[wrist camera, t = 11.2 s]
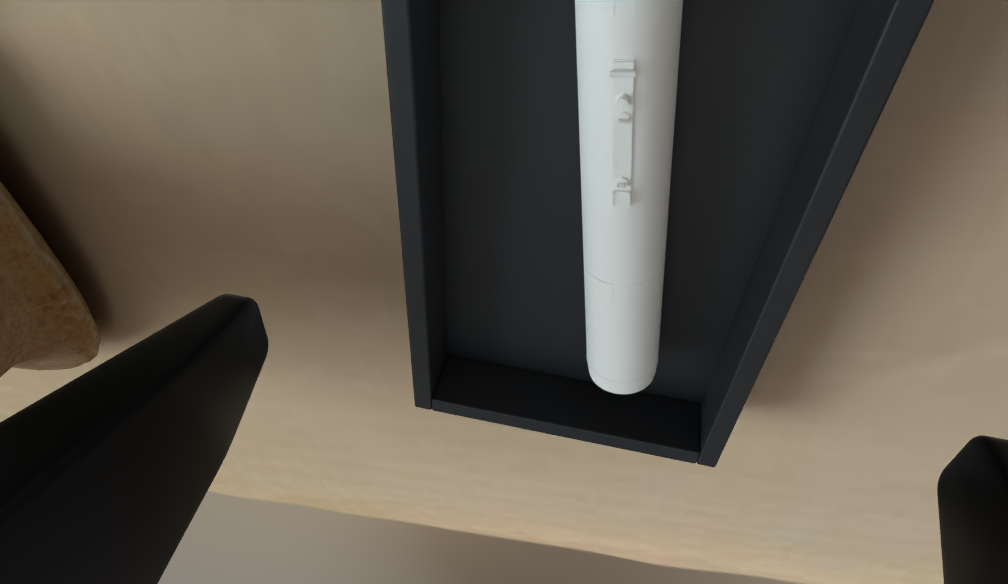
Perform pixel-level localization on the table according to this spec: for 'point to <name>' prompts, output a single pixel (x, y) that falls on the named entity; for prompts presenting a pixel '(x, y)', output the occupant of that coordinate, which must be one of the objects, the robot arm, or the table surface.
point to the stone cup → (38, 301)
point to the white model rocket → (625, 179)
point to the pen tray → (558, 203)
